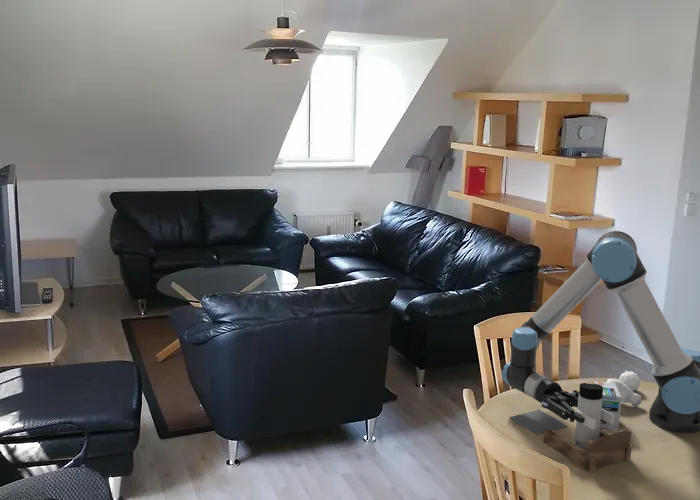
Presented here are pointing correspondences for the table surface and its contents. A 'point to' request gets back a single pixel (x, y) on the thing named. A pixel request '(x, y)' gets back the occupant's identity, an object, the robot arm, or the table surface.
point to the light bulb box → (611, 403)
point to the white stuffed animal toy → (626, 393)
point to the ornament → (630, 380)
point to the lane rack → (593, 448)
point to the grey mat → (538, 421)
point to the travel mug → (589, 413)
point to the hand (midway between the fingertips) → (603, 422)
